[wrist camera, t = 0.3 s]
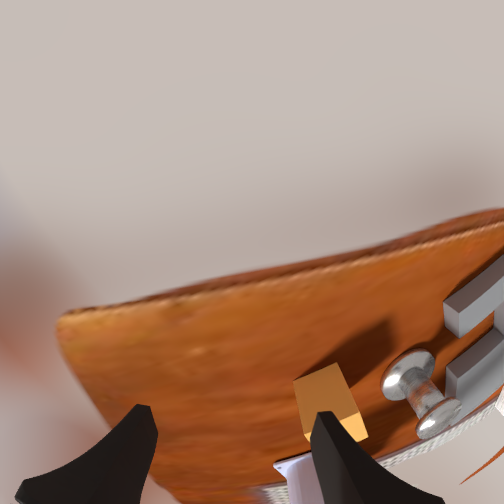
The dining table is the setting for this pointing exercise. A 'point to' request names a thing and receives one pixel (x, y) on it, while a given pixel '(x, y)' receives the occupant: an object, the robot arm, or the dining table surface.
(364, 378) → the dining table surface
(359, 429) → the tab block
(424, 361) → the bobbin post
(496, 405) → the syrup box
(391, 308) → the dining table surface
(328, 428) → the robot arm
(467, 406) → the board
